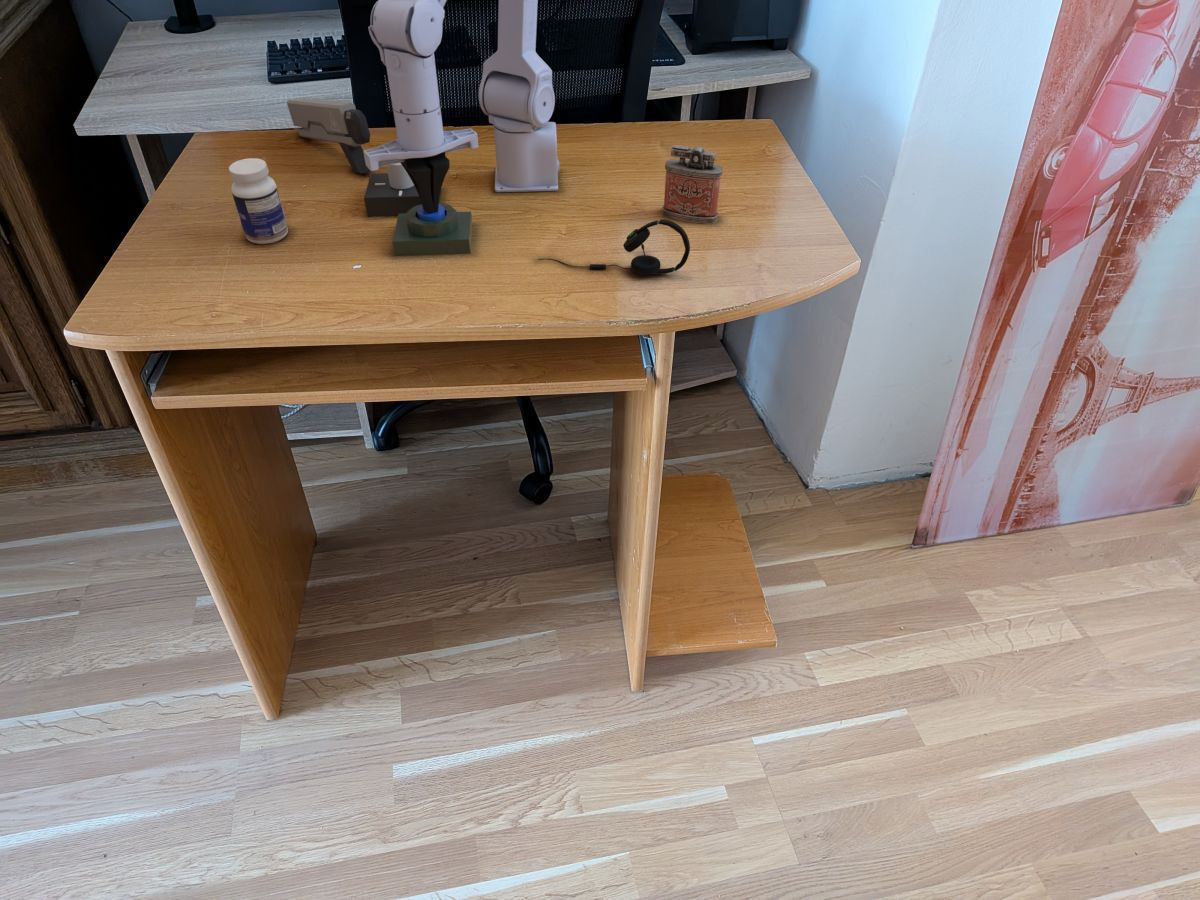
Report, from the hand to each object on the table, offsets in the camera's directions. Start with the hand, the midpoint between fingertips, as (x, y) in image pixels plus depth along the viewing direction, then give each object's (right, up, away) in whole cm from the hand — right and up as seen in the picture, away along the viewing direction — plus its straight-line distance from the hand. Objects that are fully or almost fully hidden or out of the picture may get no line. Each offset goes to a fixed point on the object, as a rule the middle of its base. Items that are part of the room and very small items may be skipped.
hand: (430, 210), depth 111 cm
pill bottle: (-23, -3, +4) cm, 24 cm away
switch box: (0, -3, +3) cm, 4 cm away
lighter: (+35, +2, +9) cm, 37 cm away
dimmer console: (-6, +4, +11) cm, 13 cm away
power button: (0, -2, +1) cm, 2 cm away
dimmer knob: (-6, +6, +9) cm, 13 cm away
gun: (-20, +16, +24) cm, 35 cm away
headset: (+24, -7, -1) cm, 25 cm away
